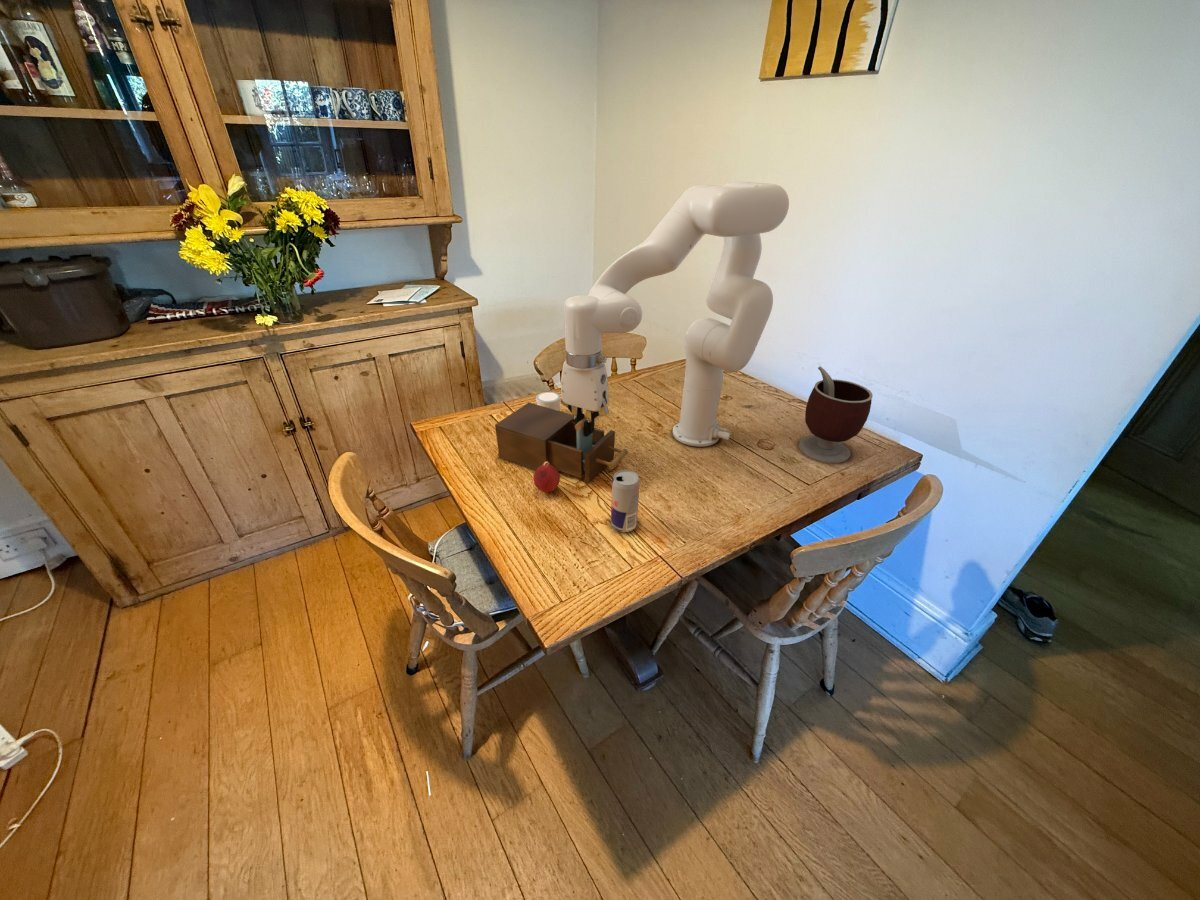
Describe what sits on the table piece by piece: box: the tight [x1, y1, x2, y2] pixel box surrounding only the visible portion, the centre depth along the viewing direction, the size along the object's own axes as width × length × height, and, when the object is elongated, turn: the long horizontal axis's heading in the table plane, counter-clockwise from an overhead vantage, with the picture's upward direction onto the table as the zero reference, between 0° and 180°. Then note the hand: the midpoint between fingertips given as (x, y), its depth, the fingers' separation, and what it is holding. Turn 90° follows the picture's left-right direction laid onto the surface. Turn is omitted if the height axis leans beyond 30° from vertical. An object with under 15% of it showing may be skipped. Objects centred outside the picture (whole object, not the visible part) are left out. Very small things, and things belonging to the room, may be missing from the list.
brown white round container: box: [535, 391, 561, 411], centre depth 131 cm, size 7×7×7 cm
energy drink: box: [610, 469, 641, 533], centre depth 92 cm, size 5×5×12 cm
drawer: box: [547, 421, 629, 485], centre depth 109 cm, size 18×12×8 cm
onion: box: [533, 461, 561, 493], centre depth 102 cm, size 6×6×8 cm
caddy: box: [575, 416, 594, 471], centre depth 108 cm, size 5×8×12 cm, turn 151°
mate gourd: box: [798, 365, 873, 464], centre depth 115 cm, size 16×14×20 cm
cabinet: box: [494, 402, 575, 471], centre depth 115 cm, size 15×14×10 cm
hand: (584, 432), depth 107 cm, fingers closed on caddy
